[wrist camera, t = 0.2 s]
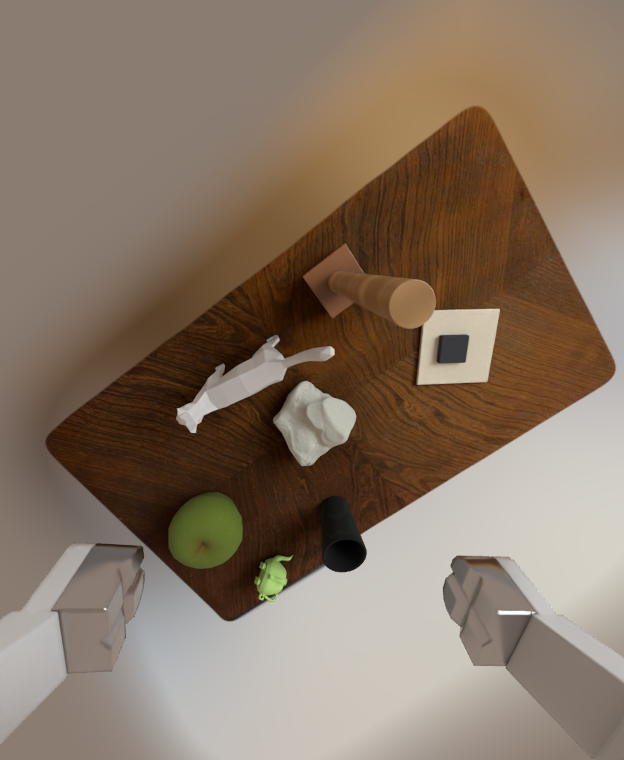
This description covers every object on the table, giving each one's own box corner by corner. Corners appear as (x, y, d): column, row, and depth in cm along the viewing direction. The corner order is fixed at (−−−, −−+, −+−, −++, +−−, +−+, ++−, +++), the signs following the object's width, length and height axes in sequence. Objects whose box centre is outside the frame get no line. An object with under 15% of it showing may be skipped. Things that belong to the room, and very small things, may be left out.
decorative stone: (298, 369, 46) (345, 411, 40) (331, 386, 53) (376, 423, 47) (255, 430, 47) (294, 480, 41) (293, 438, 55) (331, 482, 48)
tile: (423, 310, 46) (424, 310, 46) (497, 308, 47) (500, 308, 47) (415, 383, 50) (417, 384, 49) (485, 380, 51) (487, 382, 50)
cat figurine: (188, 379, 47) (151, 424, 33) (313, 312, 45) (326, 332, 32) (206, 404, 48) (177, 457, 35) (327, 340, 47) (345, 371, 33)
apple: (214, 540, 56) (200, 595, 47) (166, 504, 53) (141, 555, 44) (260, 503, 55) (256, 553, 45) (214, 464, 51) (199, 508, 42)
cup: (350, 488, 55) (364, 534, 46) (355, 518, 57) (369, 567, 48) (312, 495, 55) (318, 543, 46) (318, 525, 57) (326, 576, 48)
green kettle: (280, 578, 61) (280, 609, 55) (252, 571, 59) (249, 602, 54) (293, 553, 59) (294, 582, 53) (265, 546, 58) (263, 575, 52)
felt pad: (439, 334, 47) (442, 336, 46) (466, 334, 47) (469, 335, 46) (436, 361, 48) (439, 363, 47) (462, 360, 49) (465, 362, 48)
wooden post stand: (300, 275, 43) (329, 292, 17) (340, 244, 43) (435, 212, 16) (328, 314, 45) (393, 383, 19) (366, 286, 45) (489, 316, 18)
